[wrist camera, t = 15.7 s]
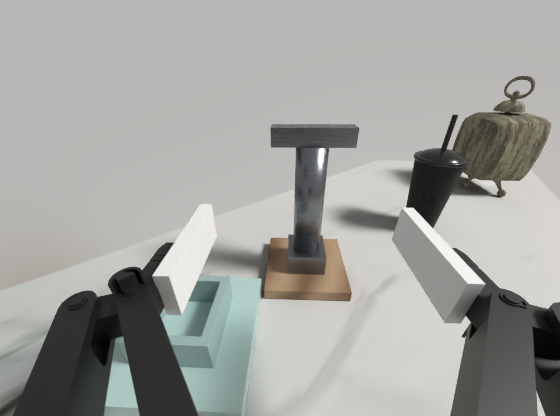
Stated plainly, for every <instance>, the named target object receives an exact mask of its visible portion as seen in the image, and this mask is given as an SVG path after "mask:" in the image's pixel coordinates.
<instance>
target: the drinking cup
mask: <svg viewBox="0 0 560 416" xmlns="http://www.w3.org/2000/svg"><path fill="white" fill-rule="evenodd" d="M457 117H458V115H453V116H452V119H451V121H450V125H449V127H448V130H447V133H446V136H445V139H444V142H443V145H442V148H433V149H427V150H424V151H419V152H416V153H415V154H414V158H415V162H414V167H413V173H412V178H411V184H410V189H409V195H408V200H407V206H406V208H414V209H415V210H416V211H417V212H418V213H419V214H420V215H421V216H422V218H423V219H424V220H425V221H426V222H427V223H428V224H429V225H430V226H431V227H432V228H433V227H434V225H435V223H436V222H437V220H438V218H439V216H440V214H441V212H442V210H443V208H444V206H445V204H446V203H447V201H448V199H449V197H450V195H451V193H452V191H453V189H454V187H455V185H456V184H457V182H458V180H459V178H460V176H461V174H462V172H463V170H464V168H465V167H466V166H468V165H469V163H470V161H469V159H467V158H466V157H463V156H462V155H461V154H459V153H457V152H455V151H452V150H449V149H446V148H447V146H448V143H449V140H450V137H451V134H452V131H453V128H454V126H455V123H456V120H457Z"/></svg>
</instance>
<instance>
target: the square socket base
mask: <svg viewBox="0 0 560 416" xmlns="http://www.w3.org/2000/svg"><path fill="white" fill-rule="evenodd" d="M261 293H262V281H261V278H230V277H229V276H203V275H199V278H198V280H197V282H196V284H195V287H194V289H193V291H192V293H191V296H190V298H189V300H188V303H187V305H186V307H185V309H184V312H183V314H182V315H167V314H166V311H165V308H164V309H163V311H162V313H161V315H160V316H161V318H162V321H163V323H164V326H165V329H166V331H167V334H168V336H169V339H170V342H171V344H172V347H173V349H174V352H175V355H176V357H177V360H178V362H179V365H180V368H181V370H182V373H183V375H184V378H185V381H186V383H187V386H188V388H189V391H190V394H191V396H192V399H193V401H194V404H195V407H196V409H197V412H198V414H199V416H244V415H245V407H246V400H247V393H248V386H249V379H250V372H251V364H252V357H253V350H254V343H255V336H256V328H257V321H258V314H259V307H260V300H261ZM104 416H140V415H139V410H138V405H137V401H136V396H135V391H134V386H133V382H132V377H131V372H130V367H129V363H128V358H127V353H126V348H125V344H124V339H123V337H119V338H116V340H115V346H114V352H113V359H112V365H111V372H110V378H109V384H108V391H107V397H106V404H105V410H104Z"/></svg>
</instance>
